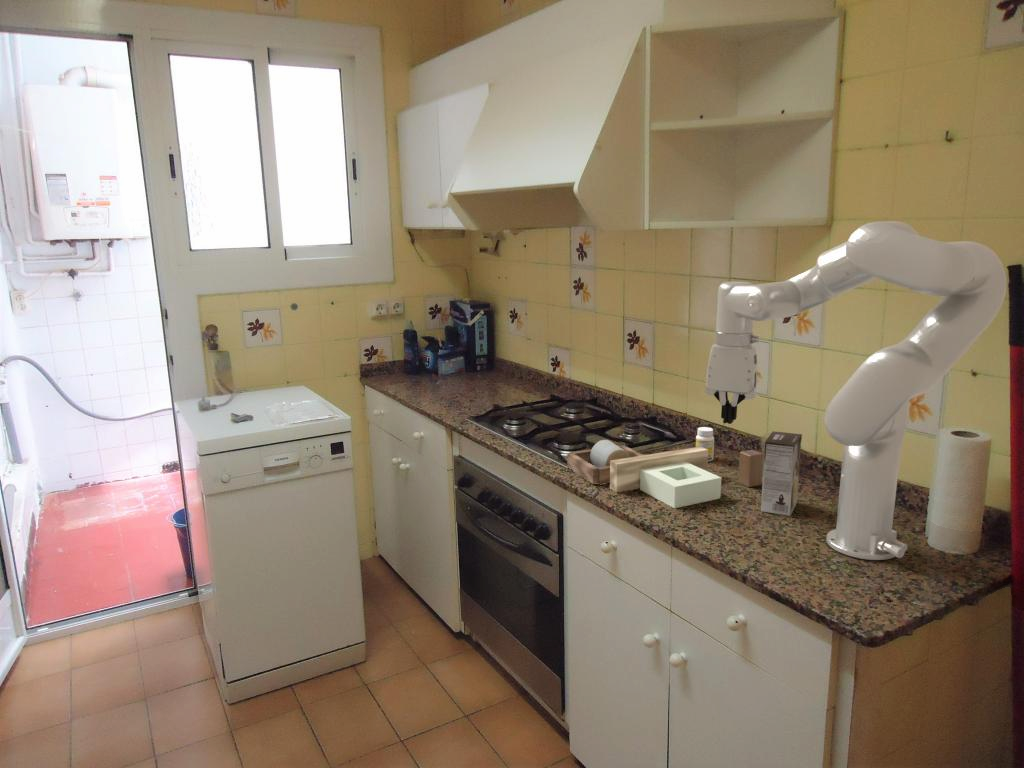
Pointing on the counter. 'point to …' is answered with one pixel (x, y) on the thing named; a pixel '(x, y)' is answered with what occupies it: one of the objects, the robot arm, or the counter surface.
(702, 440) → the supplement bottle
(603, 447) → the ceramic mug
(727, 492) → the counter surface
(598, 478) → the brown wooden tray
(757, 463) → the wooden block
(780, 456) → the coffee box
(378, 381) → the counter surface
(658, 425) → the counter surface
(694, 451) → the birch wall
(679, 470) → the socket block
